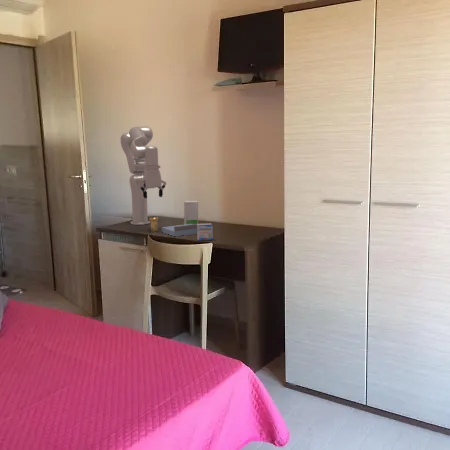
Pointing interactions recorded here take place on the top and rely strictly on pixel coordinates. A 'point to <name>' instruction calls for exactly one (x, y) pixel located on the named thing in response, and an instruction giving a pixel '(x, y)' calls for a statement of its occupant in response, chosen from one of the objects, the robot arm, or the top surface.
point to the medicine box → (204, 232)
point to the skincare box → (190, 212)
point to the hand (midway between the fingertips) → (153, 197)
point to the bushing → (154, 224)
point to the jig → (181, 229)
